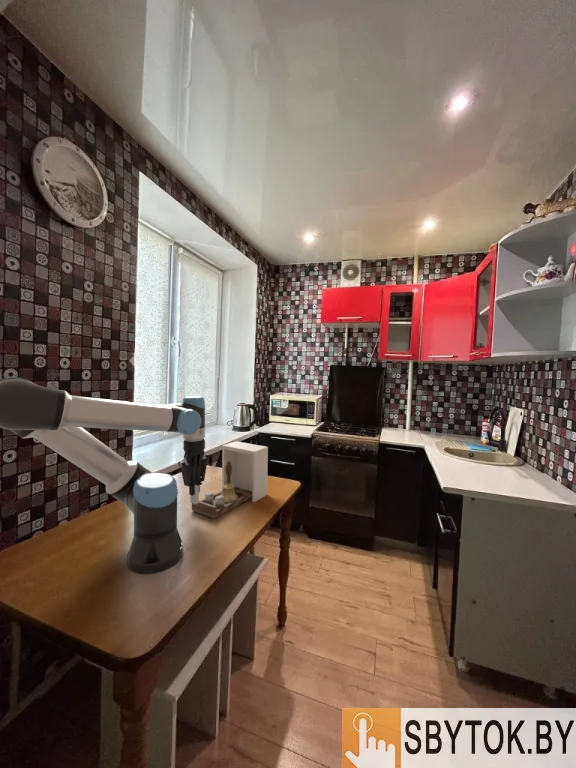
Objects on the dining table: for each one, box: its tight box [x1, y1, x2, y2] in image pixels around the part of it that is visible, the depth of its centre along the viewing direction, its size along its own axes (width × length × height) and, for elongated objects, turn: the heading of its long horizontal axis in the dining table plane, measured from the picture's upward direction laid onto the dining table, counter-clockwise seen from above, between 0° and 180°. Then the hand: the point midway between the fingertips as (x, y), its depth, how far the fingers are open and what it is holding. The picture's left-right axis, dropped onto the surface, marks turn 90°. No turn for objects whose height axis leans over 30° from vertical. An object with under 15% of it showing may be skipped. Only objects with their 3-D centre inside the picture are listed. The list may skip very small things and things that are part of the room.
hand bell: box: [220, 461, 238, 503], centre depth 130 cm, size 8×8×16 cm
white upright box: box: [195, 440, 269, 519], centre depth 131 cm, size 29×18×22 cm, turn 149°
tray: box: [191, 489, 250, 519], centre depth 127 cm, size 20×12×5 cm, turn 149°
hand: (194, 502), depth 114 cm, fingers closed
